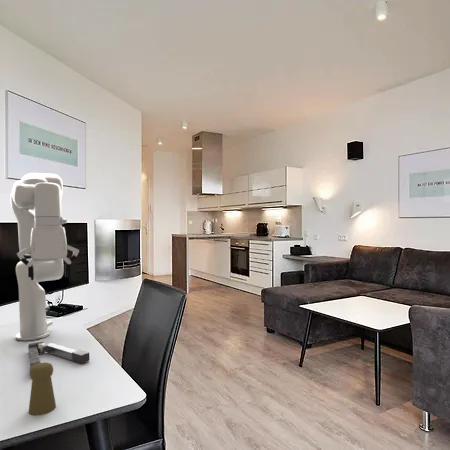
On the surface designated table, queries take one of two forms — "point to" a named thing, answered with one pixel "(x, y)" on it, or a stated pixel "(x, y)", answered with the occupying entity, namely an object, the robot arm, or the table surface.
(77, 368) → the table surface
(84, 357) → the tong arm
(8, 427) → the table surface
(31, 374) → the cork
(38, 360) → the tong base
